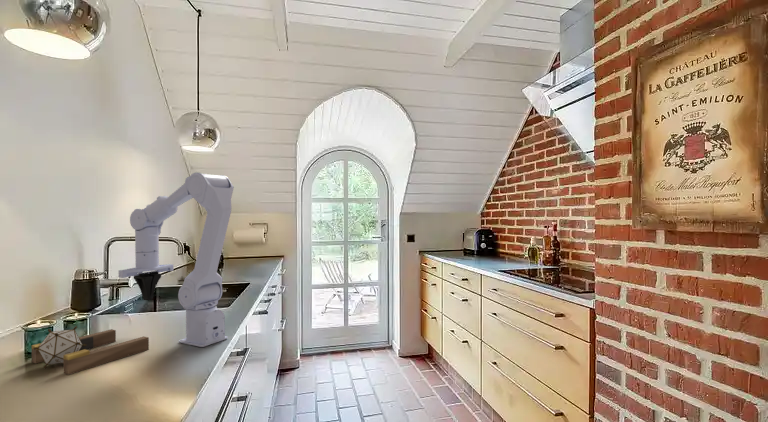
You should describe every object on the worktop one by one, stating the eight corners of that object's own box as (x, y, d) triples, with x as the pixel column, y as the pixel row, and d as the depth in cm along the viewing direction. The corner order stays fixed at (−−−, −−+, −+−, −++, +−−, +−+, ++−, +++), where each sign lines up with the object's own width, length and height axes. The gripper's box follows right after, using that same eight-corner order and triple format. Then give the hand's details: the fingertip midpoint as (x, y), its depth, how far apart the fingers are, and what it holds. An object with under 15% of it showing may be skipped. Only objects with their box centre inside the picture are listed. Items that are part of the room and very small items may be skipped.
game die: (62, 383, 88) (52, 356, 82) (30, 368, 88) (18, 341, 83) (97, 351, 95) (90, 324, 90) (67, 338, 96) (58, 311, 90)
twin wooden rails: (148, 349, 98) (148, 334, 98) (68, 374, 83) (68, 356, 83) (111, 340, 106) (111, 326, 106) (31, 362, 91) (31, 345, 91)
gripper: (163, 249, 121) (163, 293, 121) (111, 253, 108) (112, 303, 108) (177, 249, 117) (178, 295, 117) (126, 254, 104) (127, 306, 104)
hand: (147, 299), depth 112 cm, fingers closed
